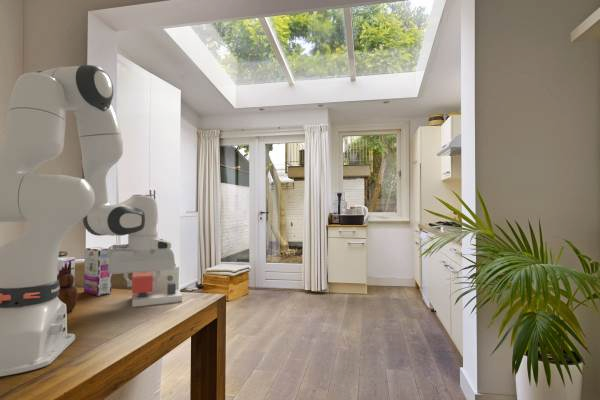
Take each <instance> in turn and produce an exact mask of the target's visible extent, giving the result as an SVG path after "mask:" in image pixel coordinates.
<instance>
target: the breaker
mask: <svg viewBox="0 0 600 400" xmlns="http://www.w3.org/2000/svg"><path fill="white" fill-rule="evenodd" d="M140 297H147V292H143V293H138V298H140Z"/></svg>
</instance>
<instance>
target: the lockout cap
mask: <svg viewBox="0 0 600 400" xmlns="http://www.w3.org/2000/svg"><path fill="white" fill-rule="evenodd" d="M131 277H132V278H131V280H132V287H131V294H132V293H143V292H152V285H153V276H152V274H140V275H133V274H132V275H131Z"/></svg>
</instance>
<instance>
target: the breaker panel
mask: <svg viewBox="0 0 600 400" xmlns="http://www.w3.org/2000/svg"><path fill="white" fill-rule="evenodd" d="M140 274H152V276H153V279H155V277H156V275H157V274H156V271H151V272H137V273H132V275H140ZM179 279H180V266H179V265H175V268H174V269H173V270H165V271H161V272H160V276H159V277H158V279H157V284H156V285H152V292H147V297H140V298H138V293H132V292H131V294H132V300H131V307H132V308H134V307H142V306H143V307H144V306H154V305H164V304H171V303H180V302H179V301H182V302H183V295H182V292H181V291H180V289H179V288H180V287H179V286H180V285H179V284H180V283H179V281H180V280H179Z"/></svg>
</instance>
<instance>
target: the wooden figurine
mask: <svg viewBox="0 0 600 400" xmlns="http://www.w3.org/2000/svg"><path fill="white" fill-rule="evenodd" d="M57 279H58V280H59V285H60V289H59V295H58V298H59V299H60V301H62V302H63V303H64V304H66V311H67V313H68V312H71V311H74V309H75V307H76V306H77V303H78V296H79V294H78V289H77V287H76V286H75V285H74V286H72V285H73V283H74V276H73V275H72V274H71V261H70V262H69V265H68V268H67V263H65V267H62V270H59V274H58V276H57Z"/></svg>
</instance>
